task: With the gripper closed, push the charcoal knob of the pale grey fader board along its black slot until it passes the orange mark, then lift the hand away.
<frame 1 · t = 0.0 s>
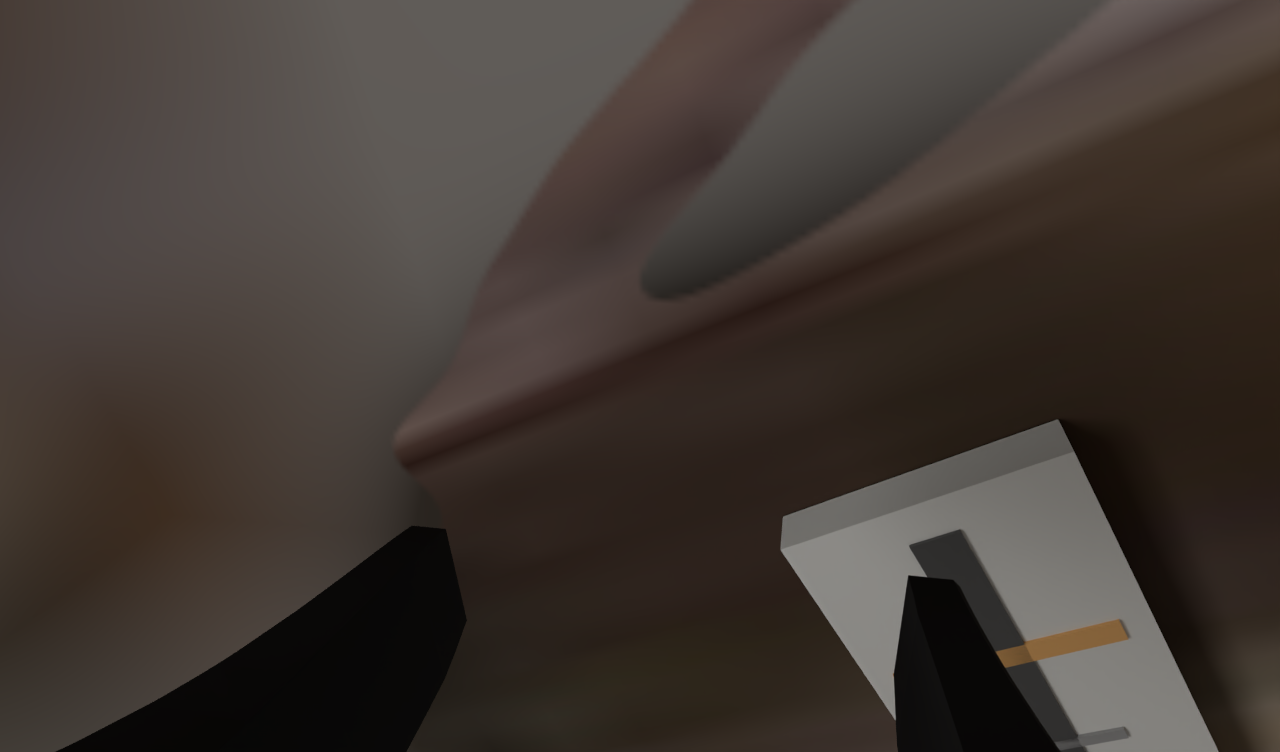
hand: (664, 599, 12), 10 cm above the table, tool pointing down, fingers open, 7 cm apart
fader board: (1042, 702, 25), on the table
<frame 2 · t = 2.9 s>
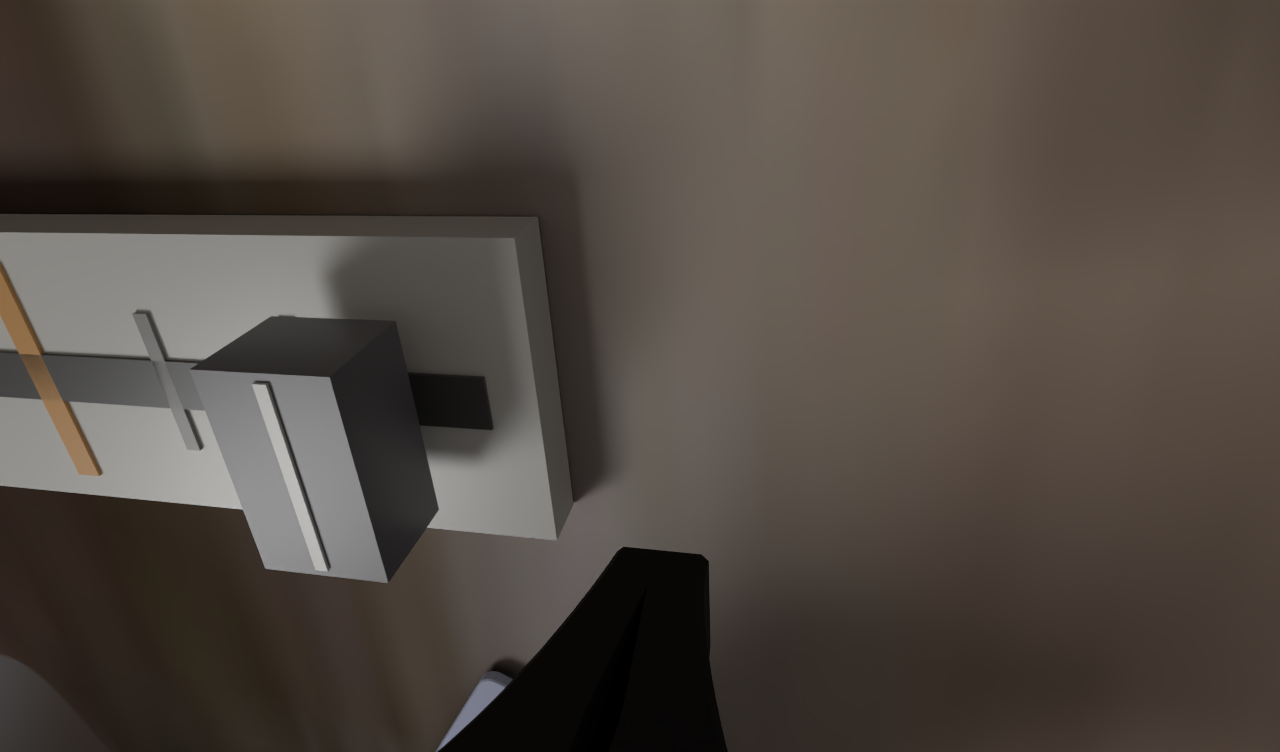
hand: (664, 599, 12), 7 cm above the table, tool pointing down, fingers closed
fader board: (210, 357, 21), on the table
fader knob: (339, 437, 17), point 3 cm above the table, slide at -6.0 cm, touching fader board
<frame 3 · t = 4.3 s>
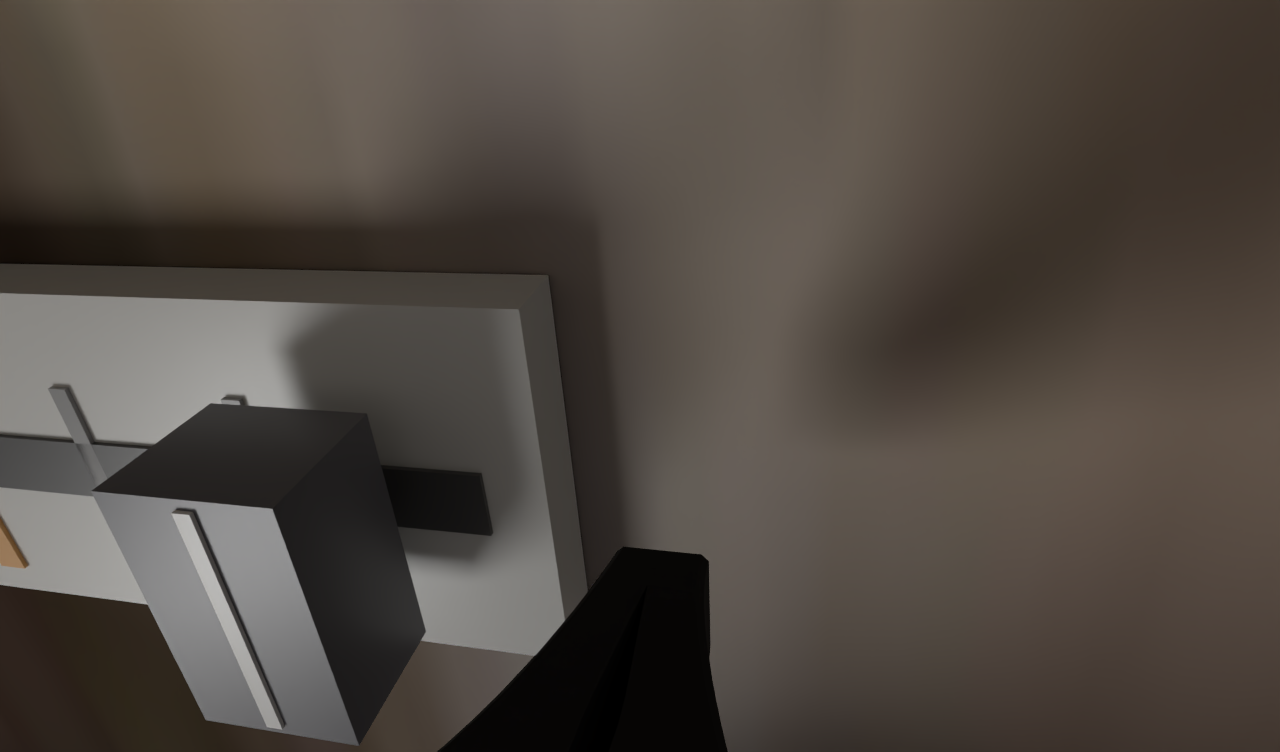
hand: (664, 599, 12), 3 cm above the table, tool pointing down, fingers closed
fader board: (153, 430, 17), on the table
fader knob: (298, 555, 13), point 3 cm above the table, slide at -6.0 cm, touching fader board
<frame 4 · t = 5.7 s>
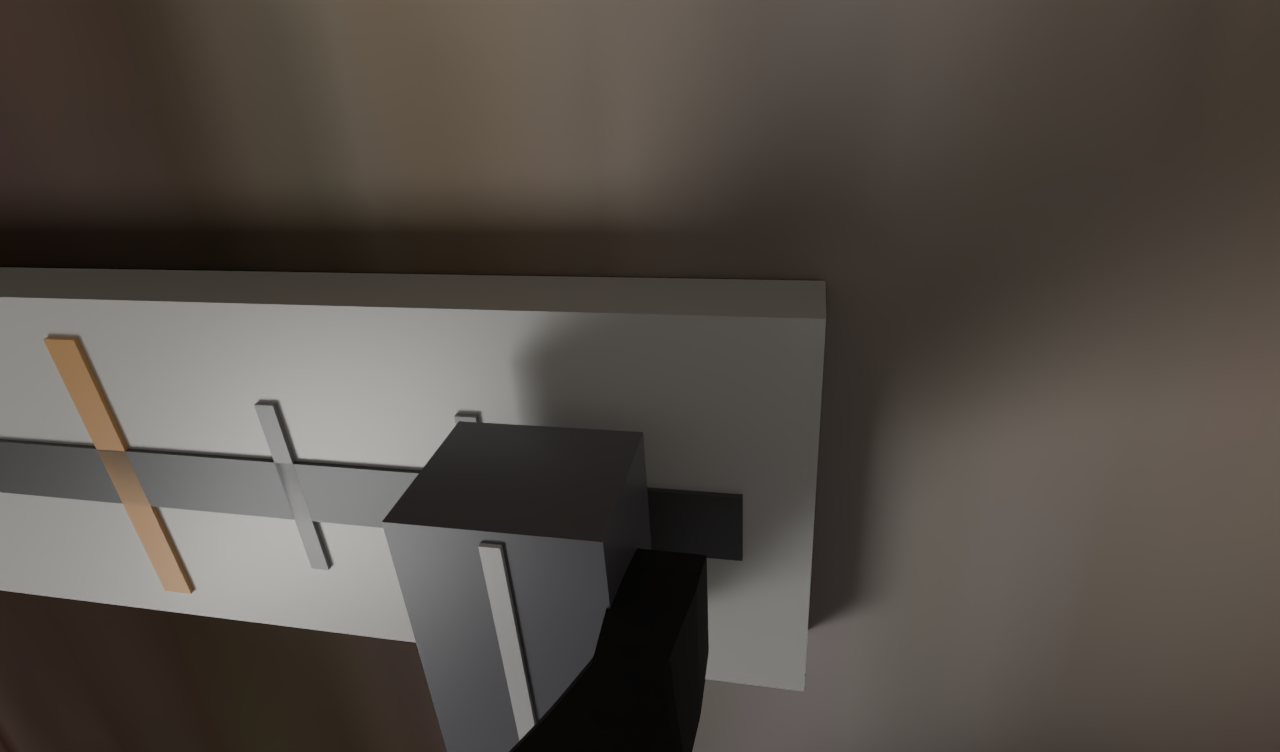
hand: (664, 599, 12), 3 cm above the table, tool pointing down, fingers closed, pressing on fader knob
fader board: (337, 447, 16), on the table
fader knob: (551, 585, 12), point 3 cm above the table, slide at -5.9 cm, touching fader board, gripper
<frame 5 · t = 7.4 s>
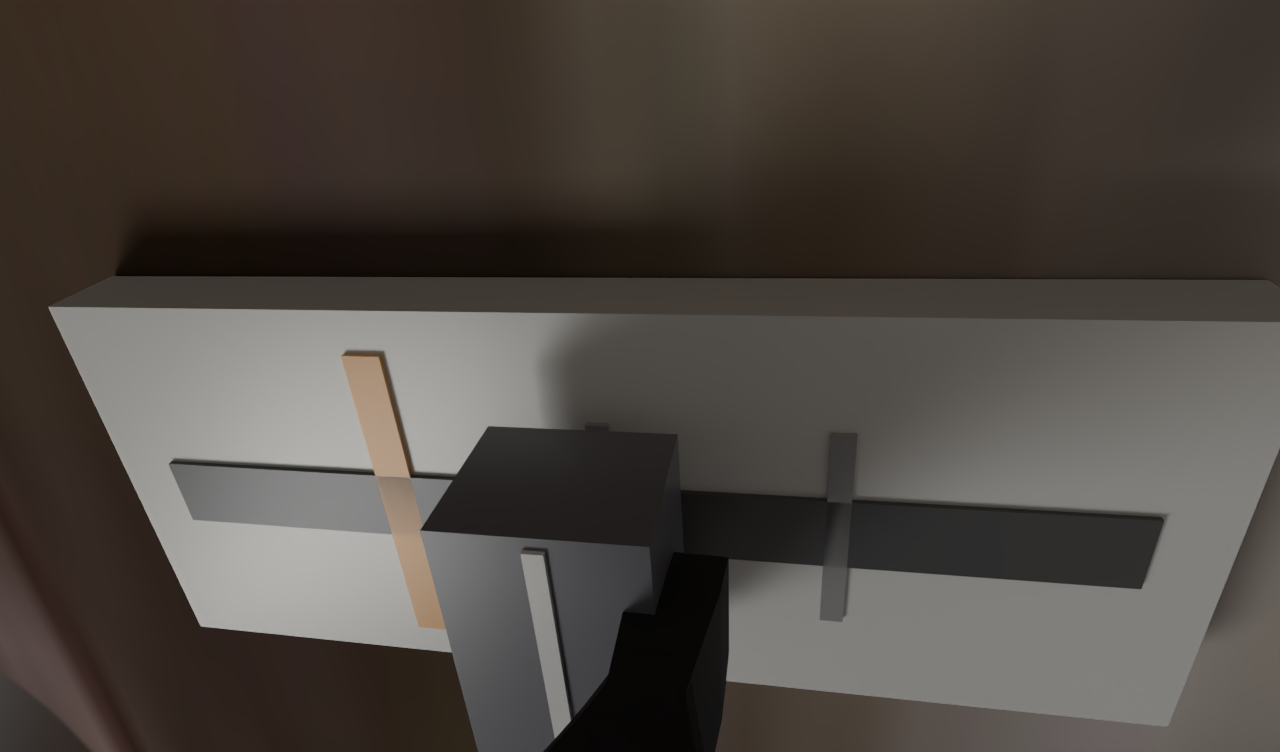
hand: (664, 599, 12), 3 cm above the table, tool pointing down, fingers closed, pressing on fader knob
fader board: (624, 468, 15), on the table
fader knob: (584, 590, 12), point 3 cm above the table, slide at 0.0 cm, touching fader board, gripper
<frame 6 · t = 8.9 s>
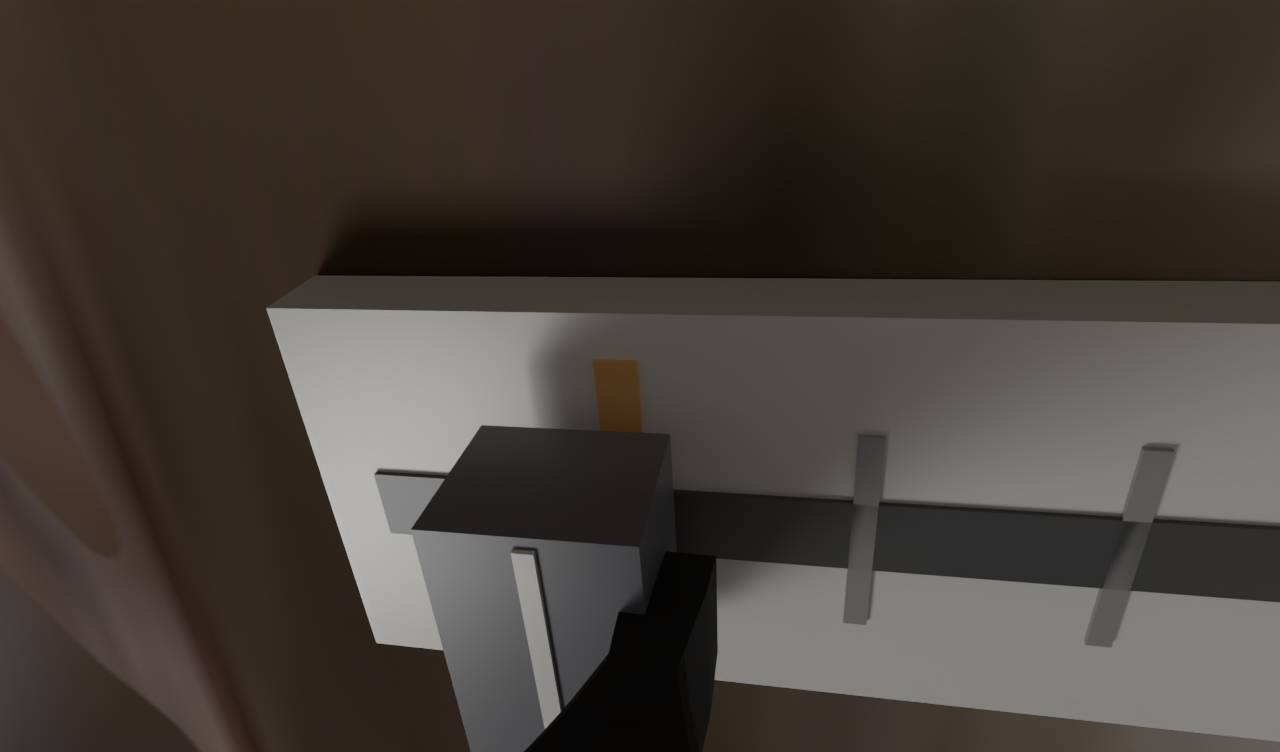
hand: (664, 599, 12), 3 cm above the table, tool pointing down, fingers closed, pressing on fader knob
fader board: (857, 480, 14), on the table
fader knob: (576, 589, 12), point 3 cm above the table, slide at 4.5 cm, touching fader board, gripper
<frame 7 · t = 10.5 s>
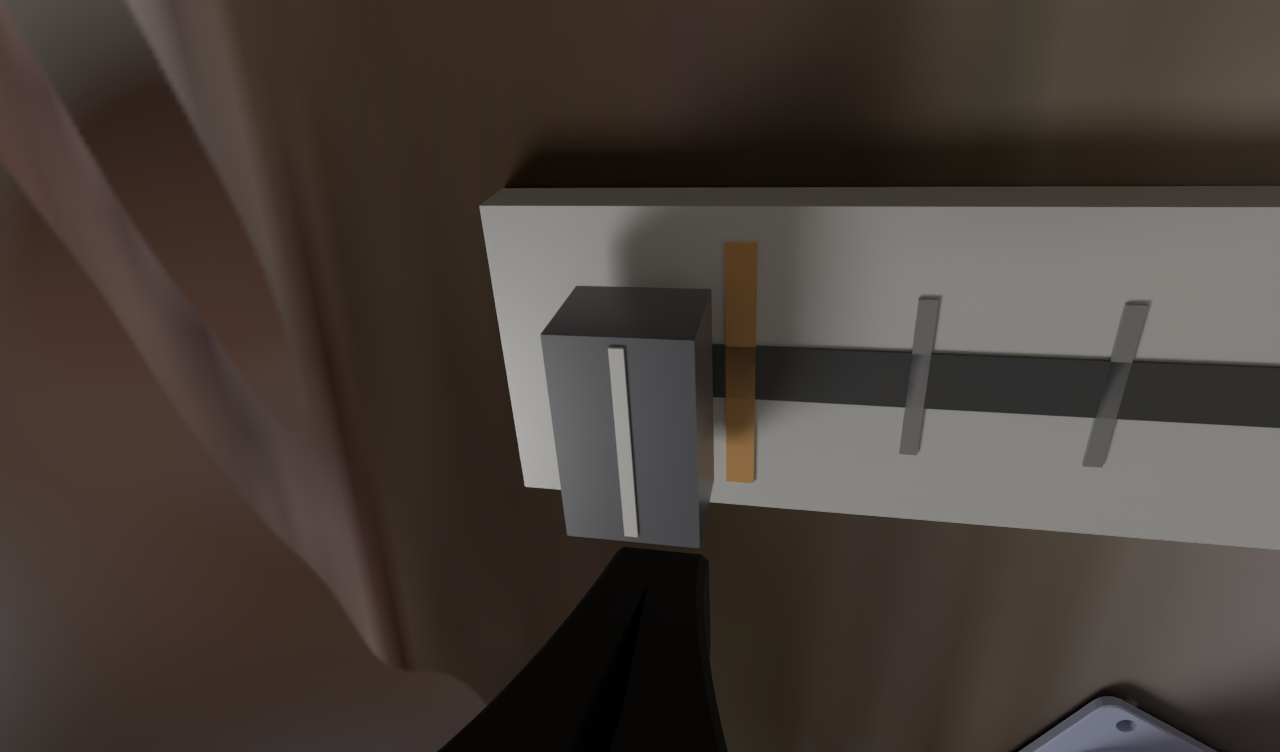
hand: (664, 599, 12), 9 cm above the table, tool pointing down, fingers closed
fader board: (911, 349, 19), on the table
fader knob: (641, 405, 17), point 3 cm above the table, slide at 6.0 cm, touching fader board
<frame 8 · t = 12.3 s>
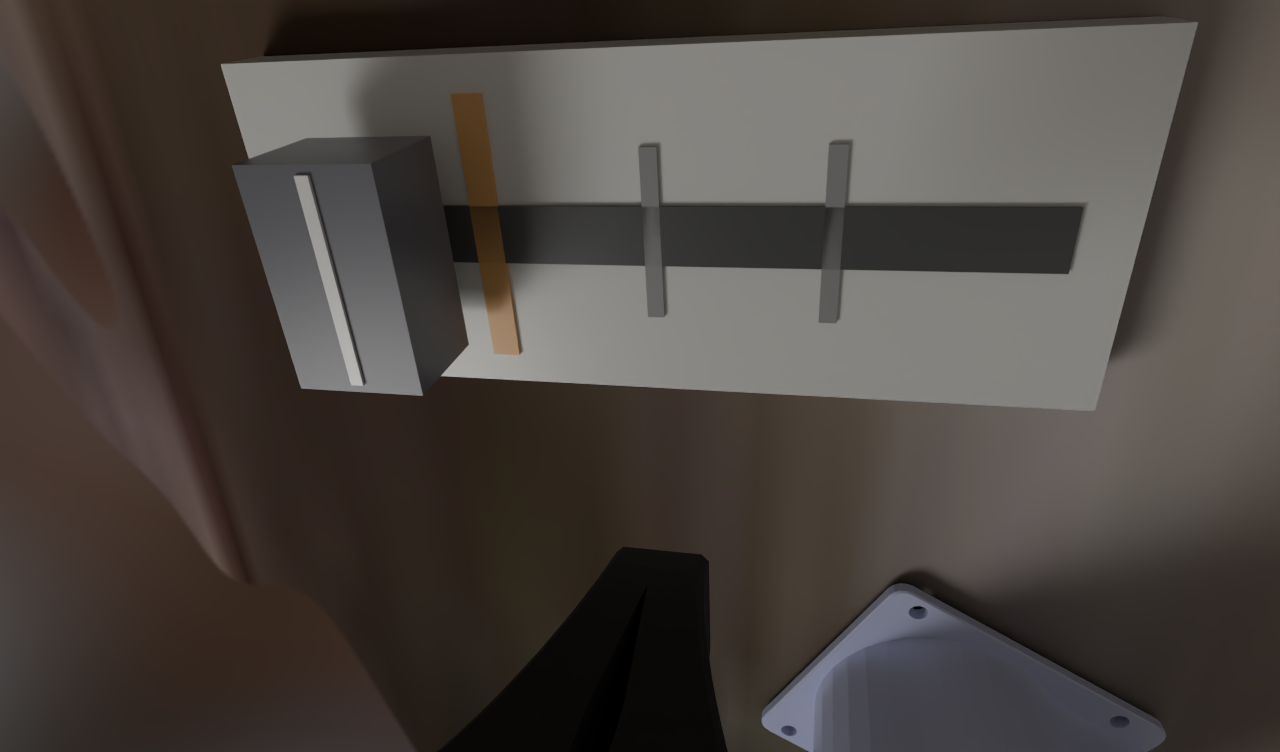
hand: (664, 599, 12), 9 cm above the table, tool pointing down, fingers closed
fader board: (664, 216, 19), on the table
fader knob: (373, 258, 17), point 3 cm above the table, slide at 6.0 cm, touching fader board
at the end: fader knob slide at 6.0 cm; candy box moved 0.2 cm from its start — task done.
